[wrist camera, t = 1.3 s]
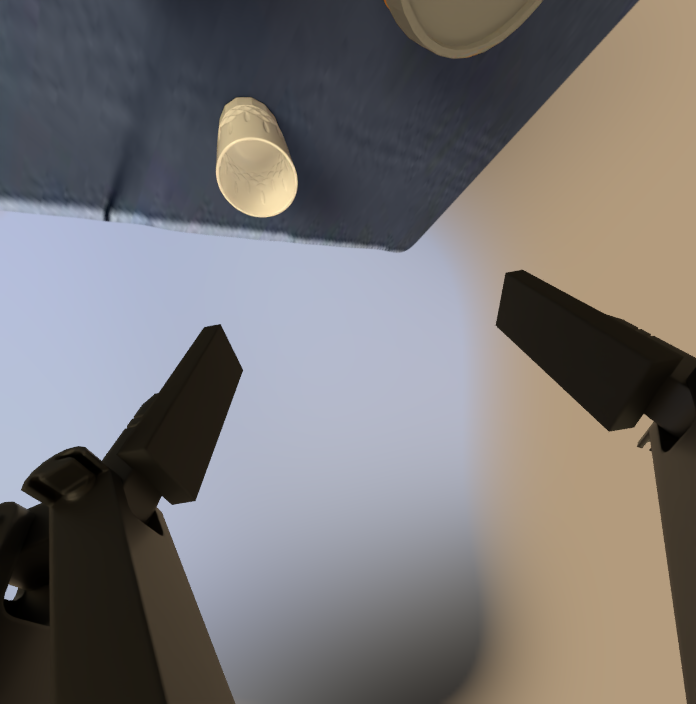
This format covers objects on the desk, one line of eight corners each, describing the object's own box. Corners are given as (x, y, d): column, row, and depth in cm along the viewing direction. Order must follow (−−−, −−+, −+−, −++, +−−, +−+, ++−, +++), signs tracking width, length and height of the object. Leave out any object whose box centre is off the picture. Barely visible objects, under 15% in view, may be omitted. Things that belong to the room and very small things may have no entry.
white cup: (257, 71, 28) (267, 118, 24) (296, 148, 35) (311, 195, 30) (197, 114, 30) (196, 166, 25) (246, 179, 37) (252, 228, 32)
